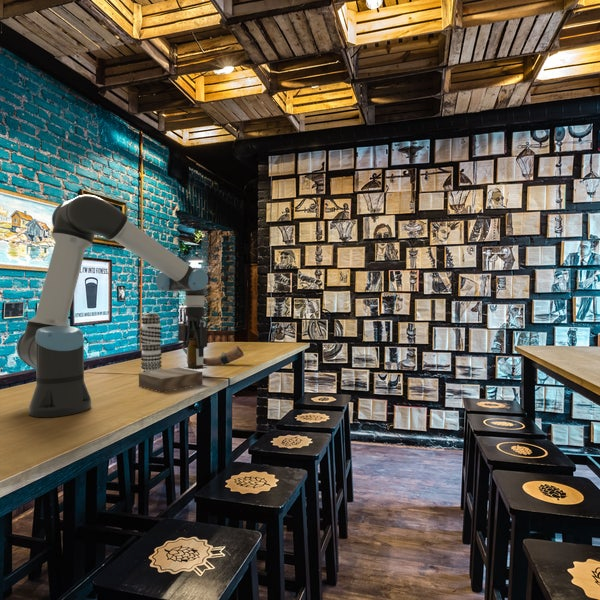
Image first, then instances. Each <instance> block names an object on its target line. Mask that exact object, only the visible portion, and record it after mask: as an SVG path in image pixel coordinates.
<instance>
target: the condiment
mask: <svg viewBox="0 0 600 600" xmlns="http://www.w3.org/2000/svg"><path fill="white" fill-rule="evenodd" d="M197 347H198V346H197V340H196V337H194V338H189V345H188V364H187V366H183V368H184V369H189V370H204V369H209V367H207V366H204V364H203V365H196V349H197ZM203 358H205V357H204V356H203Z"/></svg>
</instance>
